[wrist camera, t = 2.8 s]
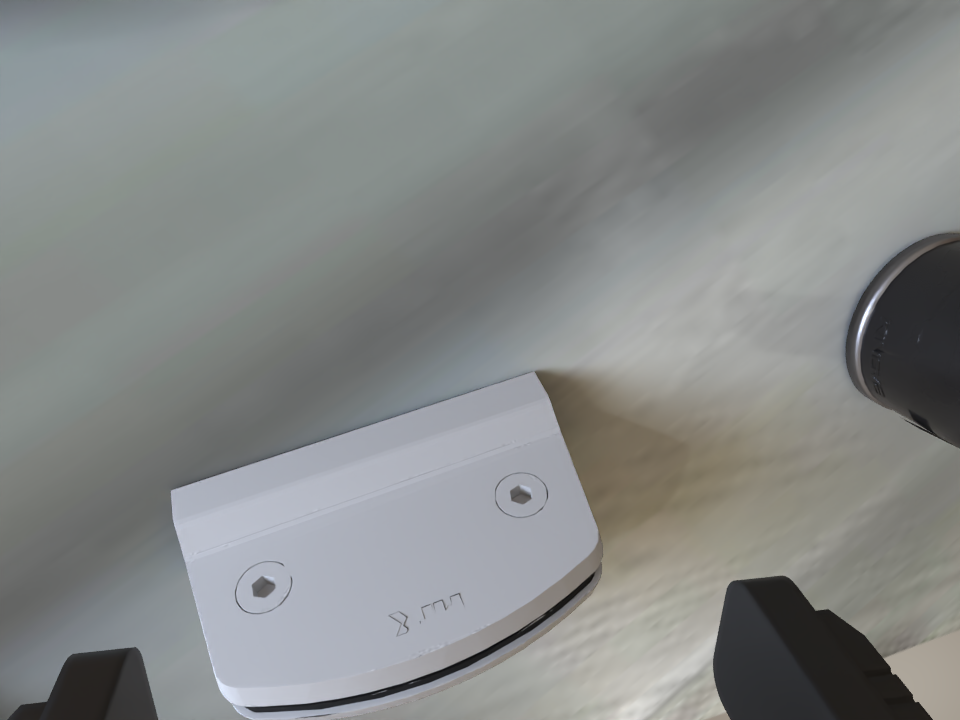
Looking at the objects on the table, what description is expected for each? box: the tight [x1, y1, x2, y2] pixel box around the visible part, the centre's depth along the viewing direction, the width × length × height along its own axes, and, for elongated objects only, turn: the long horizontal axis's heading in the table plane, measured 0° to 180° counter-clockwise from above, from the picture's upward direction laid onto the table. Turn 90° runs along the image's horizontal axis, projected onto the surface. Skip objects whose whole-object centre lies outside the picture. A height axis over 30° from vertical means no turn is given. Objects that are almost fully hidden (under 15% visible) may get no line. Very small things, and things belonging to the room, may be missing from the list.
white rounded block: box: [171, 372, 603, 720], centre depth 30 cm, size 17×5×10 cm, turn 102°
